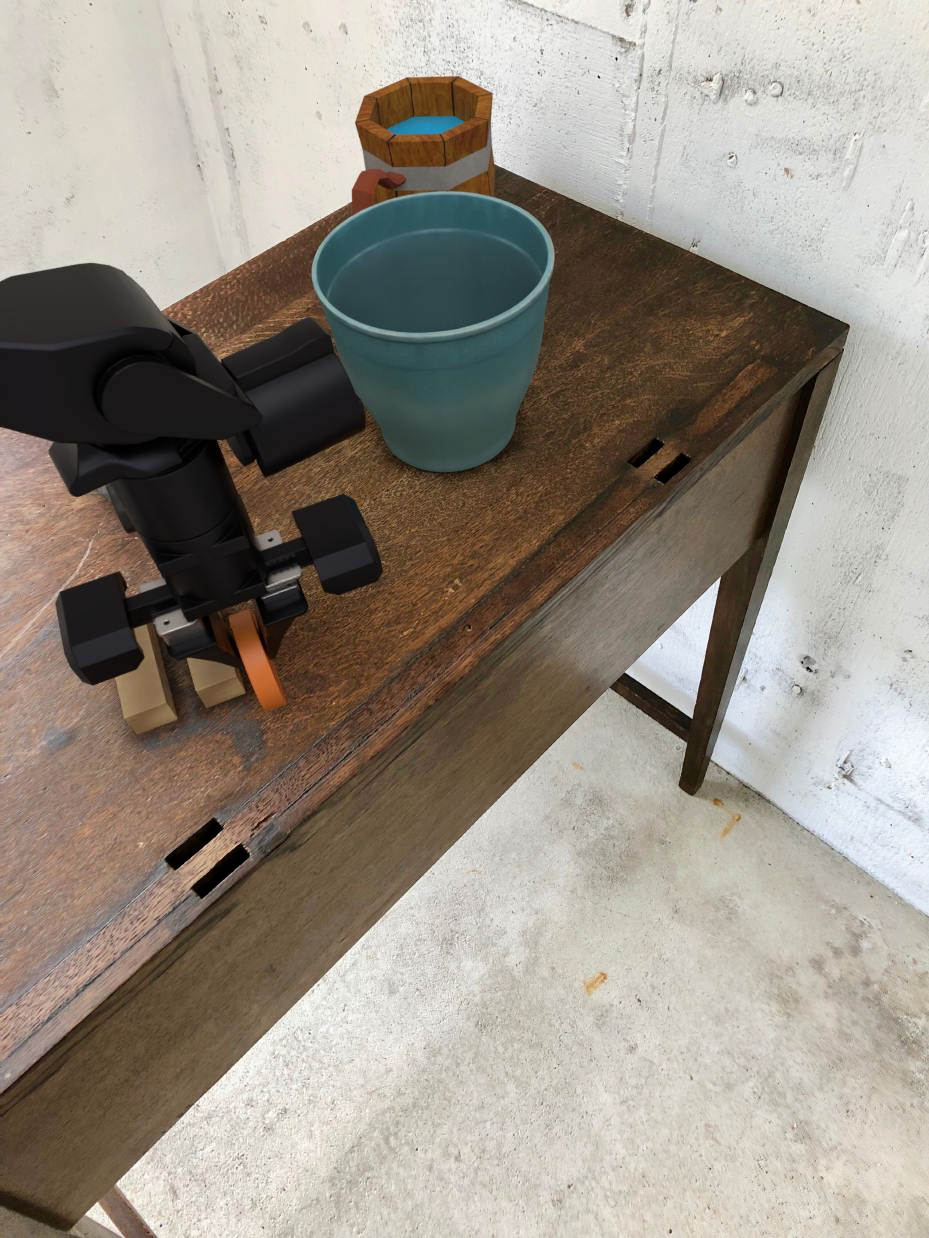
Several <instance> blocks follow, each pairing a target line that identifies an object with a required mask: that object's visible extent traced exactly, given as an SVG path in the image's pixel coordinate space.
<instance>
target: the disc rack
mask: <svg viewBox="0 0 929 1238" xmlns="http://www.w3.org/2000/svg"><path fill="white" fill-rule="evenodd" d="M218 614H219V615H220V616H221V618H222V619H223V616H222V613H221V611H218ZM134 631H135V635H136V639H137V642H138V643H139V645H140V646H141V648H142V649H143V653H144V657H145V658H144V660H143V661H142V662H141V664H140V665H139V667H138V668H137V670H134V671H132V672H129V673H126V674H123V675H121V676H118V677H115V678H114V679H115V683H116V688H117V693H118V698H119V702H120V706H121V711H122V716H123V719H124V721H126V723H127V724H128V725H129V727H130V728H131V729H132V731H134V733H135V734H136V735H137V736H138V735H141V734H143V733H146V732H150V731H151V730H154V729H157V728H159V727H162V726H164V725H167V724H169V723H172V722H174V721H177V720H178V719H179V718H178V714H177V709H176V706H175V701H174V699H173V694H172V691H171V687H170V683H169V680H168V675H167V673H166V668H165V664H164V660H163V657H162V656H163V655H162V652H161V648H160V645H159V640H158V637H157V632H156V628H155V625H154V623H153V622H151V623H148V624H146V625H143V626H140V627H137V628H134ZM186 662H187V665H188V668H189V673H190V676H191V679H192V682H193V686H194V689H195V692H196V694H197V695H198V697H199V699H200V700H201V702H202V704H203V705H204V707H205V708H206V709H208V708H211V707H214V706H216V705H219V704H222V703H224V702H227V701H229V700H232V699H234V698H237V697H239V696H242V695H245V694H246V693H247V692H246V688H245V684H244V681H243V679H242V675H241V673H240V669H238V668H235V667H231V666H228V665H225V664H221V663H218V662H213V661H207V660H201V659H194V658H186Z"/></svg>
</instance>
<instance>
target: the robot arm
mask: <svg viewBox="0 0 929 1238" xmlns="http://www.w3.org/2000/svg"><path fill="white" fill-rule="evenodd" d="M332 338H333V337H332V335H331V334H330V333H329V332H328V331H327V330H326V329H325V328H324V327H323V326H322V325H321V324H320V322H318V320H316V318H314V317H313V316H307V317H305V318H302V319H301V320H297V321H296V322H293V323H291V324H290V325H288V326H287V327H285V328H284V329H282V330H281V331H280V332H278V333H277V334H275V335H272V336H270V337H268V338H265V339H264V340H263V339H262V340H260V341H259V342H256V343H254V344H252V345H249V346H247V347H244V348H243V349H240V350H237V351H236V352H234V353H231V354H229V355H226V356H224V357H222V358H220V360H219V358H218V357H217V356H216V354H215V353H214V352H213V351H212V350H211V348H210V347H209V346H208V343H206V341H205V340H203V337H202V336H200V334H199V333H198V332H196V331H195V330H193V329H191V328H189V327H188V326H186V325H184V324H182V323H181V322H178V321H176V320H175V319H174V318H171V317H170V316H168V315H166V314H164V313H163V312H162V310H161V309H160V308H159V306H158V305H157V304H156V303H155V301H154V300H153V299H152V298H151V297H150V295H149V294H148V292H147V291H146V290H145V288H144V287H142V286H141V285H140V283H138V282H137V281H136V280H135V279H134V278H133V277H131V276H130V275H128V274H127V273H126V272H125V271H124V270H122V269H120V268H118V267H116V266H113V265H111V264H105V263H98V262H84V263H75V264H70V265H64V266H60V267H58V266H57V267H53V268H47V269H43V270H38V271H31V272H26V273H20V274H15V275H11V276H7V277H6V278H4V279H2V280H0V429H5V430H9V431H13V432H16V433H20V434H24V435H27V436H30V437H34V438H37V439H42V440H44V441H45V440H46V441H49V442H52V443H51V445H50V446H49V448H48V453H47V454H48V456H49V458H50V460H51V461H52V463H53V465H54V467H55V469H56V470H57V472H58V474H59V476H60V478H61V480H62V482H63V484H64V486H65V488H66V490H67V491H68V493H69V494H70V495H71V496H72V497H75V498H80V497H83V496H85V495H87V494H90V493H91V492H94V491H97V490H96V489H98V488H100V487H103V486H106V490H107V492H108V494H109V497H110V499H111V502H112V503H111V502H110V503H111V504H112V507H113V509H114V511H115V514H116V516H117V518H118V520H119V522H120V524H121V526H122V529H123V530H124V532H125V533H126V534H127V535H131V534H133V533H137V534H138V536H139V538H140V540H141V542H142V543H143V545H144V547H145V549H146V550H147V552H148V554H149V556H150V557H151V559H152V561H153V563H154V565H155V567H156V569H157V570H158V572H159V574H160V576H161V577H160V578H157V579H154V580H151V581H148V582H145V583H143V584H141V585H139V587H138V592H139V593H137V594H133V595H131V596H128V597H127V594H126V592H127V590H128V589H129V587H128V584H127V581H126V579H125V577H124V575H123V574H122V572H121V571H120V570H118V571H115V572H112V573H109V574H106V575H103V576H100V577H98V578H95V579H91V580H89V581H86V582H83V583H80V584H76V585H74V586H71V587H69V588H66V589H63V590H60V591H59V593H58V595H57V597H56V600H55V603H54V604H55V610H56V615H57V621H58V627H59V628H58V629H59V632H60V633H59V634H60V639H61V643H62V649H63V655H64V657H65V659H66V661H67V664H68V666H69V668H70V669H71V671H72V672H74V674H75V676H77V677H78V679H79V680H80V681H81V682H82V683H84V684H87V685H89V686H90V685H91V686H96V685H99V684H101V683H104V682H108V681H109V680H113V679H115V677H118V676H121V675H123V674H126V673H129V672H132V671H134V670H137V668H138V667H139V665H140V664H141V662H142V661H143V660H144V658H145V657H144V653H143V649H142V648H141V646H140V645H139V643H138V642H137V639H136V635H135V631H134V628H137V627H140V626H143V625H146V624H148V623H151V622H153V625H154V628H155V632H156V634H157V635H158V637H159V638H163V641H164V645H165V648H166V652H167V655H168V656H169V658H170V659H171V660H173V661H177V662H180V661H183V660H187V658H194V659H201V660H207V661H213V662H218V663H221V664H225V665H228V666H231V667H235V668H238V669H239V670H241V671H246V669H245V666H244V664H243V661H242V659H241V656H240V653H239V650H238V648H237V645H236V642H235V639H234V636H233V633H232V630H231V628H229V626H228V625H227V623H226V622H225V620H224V619H223V617H222V618H221V616H222V615H221V616H220V615H219V614H218V611H220V612H221V611H224V610H226V609H229V608H232V607H234V606H238V605H241V604H243V603H246V602H249V601H251V603H252V607H253V611H254V616H255V619H256V621H257V625H258V630H259V634H260V637H261V640H262V642H263V645H264V648H265V651H266V654H267V656H268V658H269V659H270V660H275V659H276V657H277V655H278V652H279V649H280V647H281V646H282V642H283V639H284V637H285V635H286V634H287V632H288V631H289V629H290V628H291V626H292V625H293V623H294V622H295V620H296V619H297V618H300V617H303V616H305V615H306V614H307V613H308V611H309V609H310V606H309V602H308V600H307V597H306V595H305V592H304V589H303V587H302V585H301V582H300V579H302V578H303V577H304V572H303V571H302V569H305V568H308V567H310V566H313V567H314V570H315V572H316V575H317V577H318V580H319V584H320V586H321V589H322V591H323V593H326V594H330V595H335V596H342V595H344V594H347V593H350V592H353V591H355V590H358V589H360V588H363V587H365V586H368V585H371V584H375V583H377V582H379V580H380V579H381V577H382V575H383V574H384V568H383V564H382V560H381V555H380V552H379V549H378V546H377V543H376V541H375V539H374V537H373V535H372V533H371V531H370V529H369V527H368V525H367V523H366V520H365V518H364V516H363V514H362V512H361V510H360V508H359V506H358V504H357V502H356V499H354V498H352V497H351V496H348V495H347V494H345V493H340V494H338V495H336V496H332V497H329V498H327V499H323V500H320V501H317V502H315V503H312V504H308V505H306V506H303V507H300V508H298V509H294V510H292V511H291V515H292V518H293V520H294V523H295V526H296V528H297V530H298V531H299V534H300V536H299V537H296V538H293V539H290V540H288V541H284V540H283V538H282V535H281V532H280V531H279V530H278V529H273V530H269V531H267V532H265V533H261V534H259V535H256V532H255V529H254V526H253V523H252V521H251V518H250V516H249V513H248V511H247V507H246V505H245V502H244V501H243V497H242V496H241V494H240V493H239V492H238V490H237V487H236V485H235V482H234V479H233V477H232V474H231V472H230V469H229V466H228V464H227V462H226V459H225V456H224V454H223V451H222V449H221V446H220V444H219V441H221V442H222V441H226V443H227V444H228V446H229V448H230V450H231V451H232V453H233V454H234V456H235V458H236V459H237V460H238V462H239V463H240V465H242V466H243V467H244V468H246V467H249V466H251V465H253V464H254V463H255V461H256V465H257V467H258V469H259V470H260V472H261V474H262V476H263V477H264V478H265V479H267V478H269V477H271V476H274V475H277V474H279V473H280V472H283V471H285V470H287V469H289V468H291V467H293V466H295V465H297V464H299V463H301V462H303V461H305V460H307V459H310V458H312V457H313V456H317V455H318V454H320V453H322V452H325V451H326V450H328V449H331V448H332V447H334V446H337V445H338V444H340V443H342V442H343V443H344V442H345V441H347V440H349V439H351V438H353V437H355V436H357V435H359V434H361V433H364V431H365V430H366V427H367V418H366V411H365V406H364V404H363V403H362V401H361V399H360V398H359V397H358V395H357V394H356V392H355V390H354V388H353V386H352V383H351V381H350V379H349V377H348V375H347V373H346V371H345V369H344V367H343V365H342V362H341V359H340V357H338V355H337V353H336V352H335V348H334V343H333V339H332Z"/></svg>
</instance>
